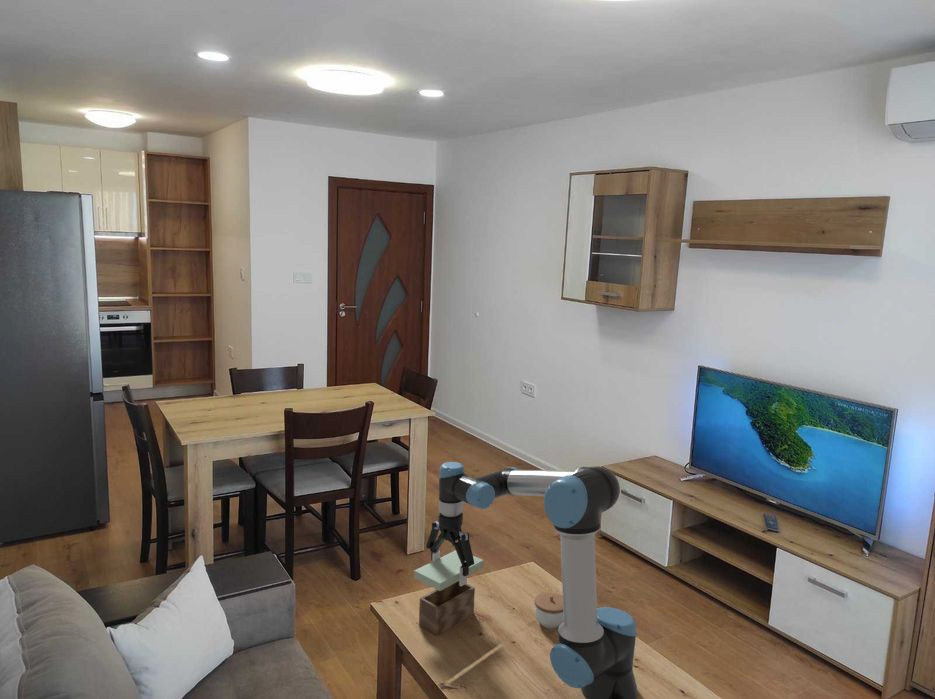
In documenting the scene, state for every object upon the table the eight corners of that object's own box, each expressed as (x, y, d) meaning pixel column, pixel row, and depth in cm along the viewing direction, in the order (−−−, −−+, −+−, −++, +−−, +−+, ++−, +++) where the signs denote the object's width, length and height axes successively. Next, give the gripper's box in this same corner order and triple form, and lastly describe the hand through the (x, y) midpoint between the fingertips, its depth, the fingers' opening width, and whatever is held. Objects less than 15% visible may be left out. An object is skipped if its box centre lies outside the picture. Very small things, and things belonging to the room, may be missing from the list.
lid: (457, 558, 222) (458, 548, 221) (483, 570, 215) (483, 560, 214) (414, 581, 207) (414, 570, 207) (439, 594, 200) (440, 583, 199)
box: (455, 605, 223) (456, 578, 221) (473, 615, 218) (474, 587, 216) (418, 627, 211) (419, 598, 209) (437, 638, 205) (438, 608, 204)
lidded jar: (565, 635, 210) (567, 608, 208) (531, 630, 212) (533, 602, 210) (567, 616, 220) (569, 590, 218) (534, 611, 222) (536, 585, 220)
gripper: (487, 519, 202) (485, 586, 206) (432, 498, 218) (431, 560, 222) (471, 527, 197) (469, 596, 201) (415, 504, 212) (414, 568, 216)
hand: (449, 577), depth 211 cm, fingers closed on lid, 11 cm apart
